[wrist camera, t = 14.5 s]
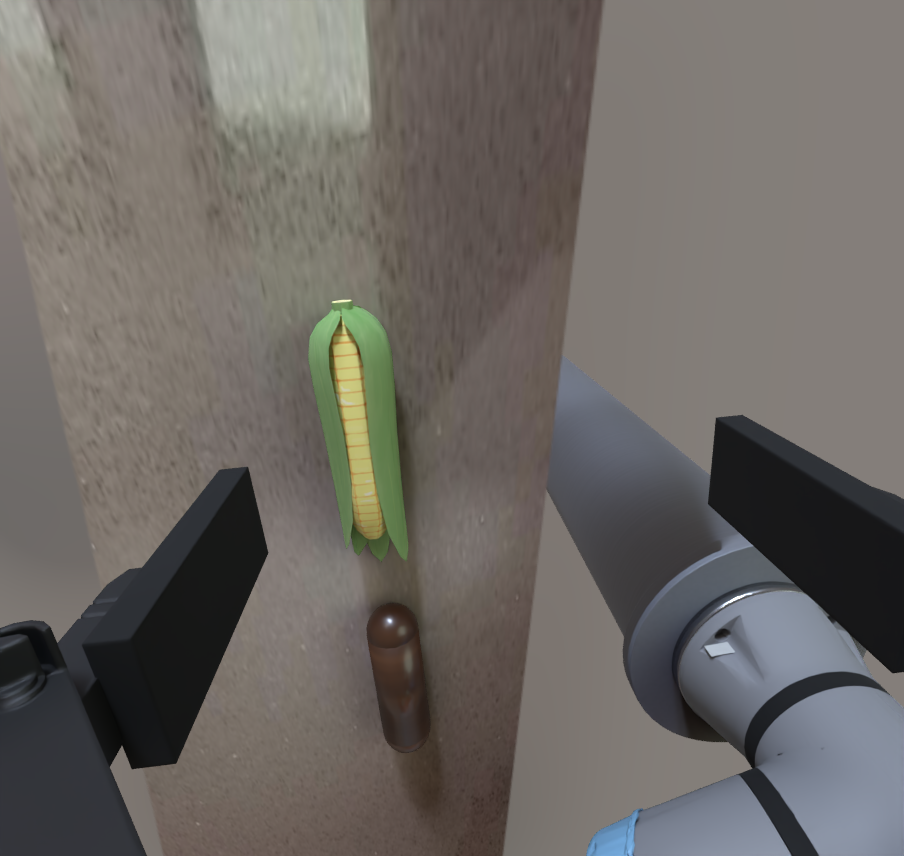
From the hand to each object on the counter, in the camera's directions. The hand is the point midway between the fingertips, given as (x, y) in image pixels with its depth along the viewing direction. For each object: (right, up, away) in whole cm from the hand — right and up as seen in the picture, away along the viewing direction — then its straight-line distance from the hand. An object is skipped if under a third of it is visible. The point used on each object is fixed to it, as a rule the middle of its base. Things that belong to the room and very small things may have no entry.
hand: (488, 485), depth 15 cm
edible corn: (-7, +1, +24) cm, 25 cm away
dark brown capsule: (-5, -18, +30) cm, 36 cm away
